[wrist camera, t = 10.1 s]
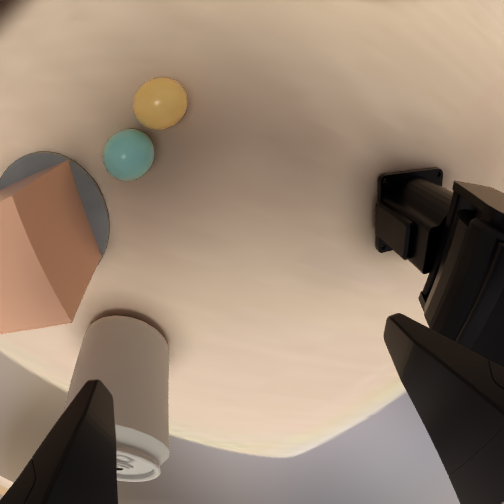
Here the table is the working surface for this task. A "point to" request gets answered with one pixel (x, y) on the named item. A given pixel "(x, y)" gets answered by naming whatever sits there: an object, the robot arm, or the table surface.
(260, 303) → the table surface
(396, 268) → the table surface
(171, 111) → the marble amber
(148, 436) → the can
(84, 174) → the coaster
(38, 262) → the peach beveled cube
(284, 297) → the table surface
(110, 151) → the marble teal
